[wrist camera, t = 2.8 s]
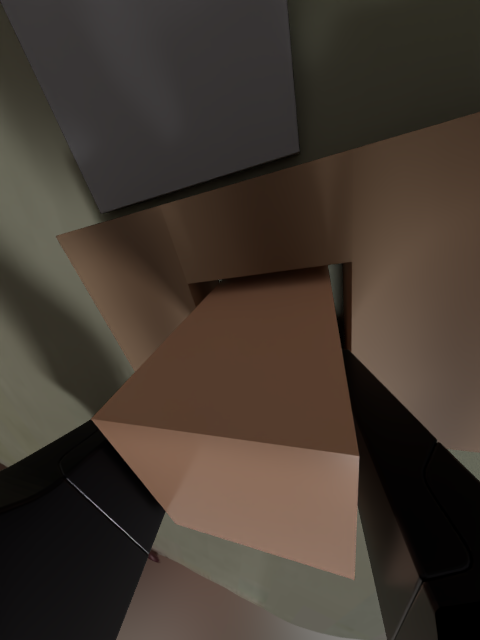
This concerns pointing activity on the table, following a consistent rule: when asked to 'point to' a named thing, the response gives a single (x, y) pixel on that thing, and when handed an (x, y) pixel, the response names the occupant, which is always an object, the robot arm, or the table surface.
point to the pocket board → (325, 261)
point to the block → (250, 421)
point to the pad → (162, 88)
